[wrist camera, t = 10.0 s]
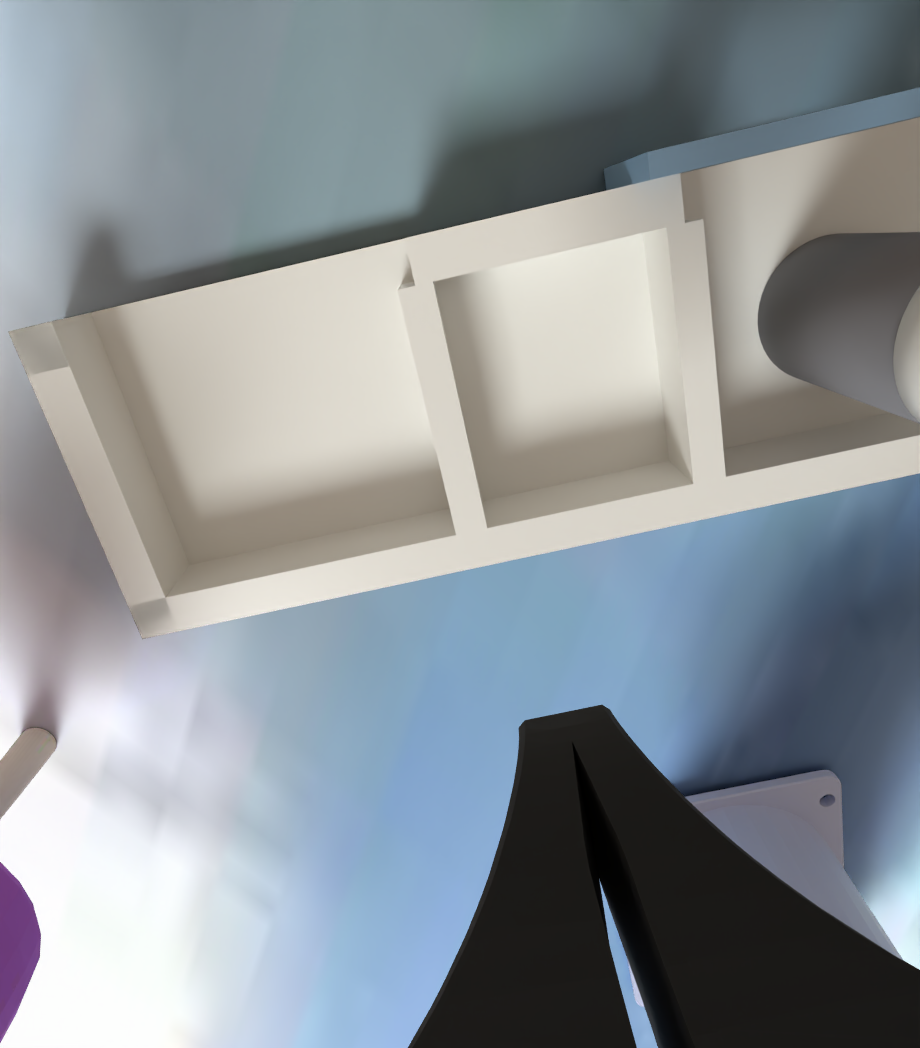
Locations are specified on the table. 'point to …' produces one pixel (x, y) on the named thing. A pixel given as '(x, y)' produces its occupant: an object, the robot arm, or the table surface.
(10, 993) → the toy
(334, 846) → the table surface
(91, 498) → the compartment tray
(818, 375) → the plug
